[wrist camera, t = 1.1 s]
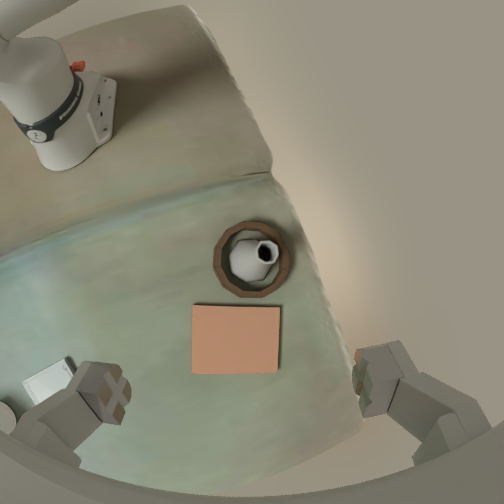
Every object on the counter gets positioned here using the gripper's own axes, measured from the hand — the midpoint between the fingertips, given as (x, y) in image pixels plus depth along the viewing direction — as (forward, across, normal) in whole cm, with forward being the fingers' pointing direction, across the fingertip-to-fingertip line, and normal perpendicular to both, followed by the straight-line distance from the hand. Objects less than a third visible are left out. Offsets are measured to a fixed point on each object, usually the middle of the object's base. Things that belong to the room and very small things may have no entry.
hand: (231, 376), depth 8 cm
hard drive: (+16, +37, +24) cm, 47 cm away
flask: (+36, +2, +12) cm, 38 cm away
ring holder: (+35, +2, +12) cm, 37 cm away
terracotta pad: (+28, +5, +22) cm, 36 cm away
